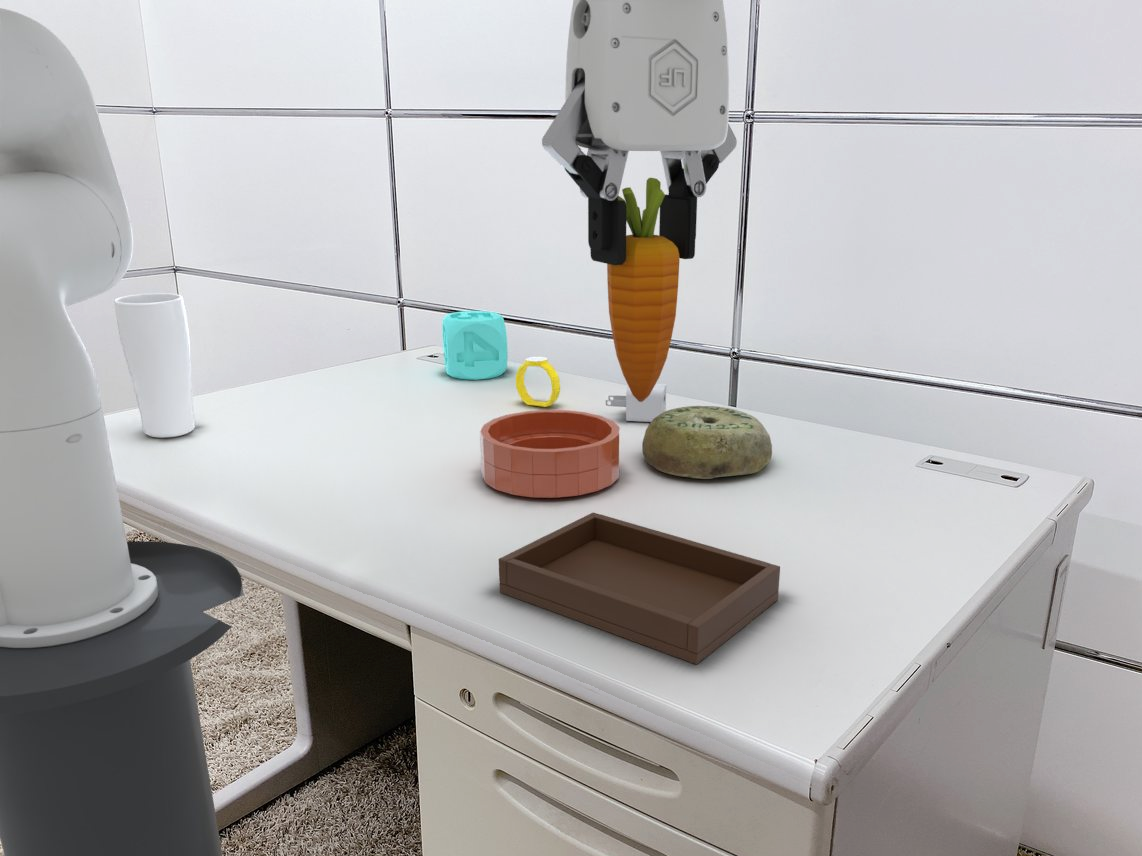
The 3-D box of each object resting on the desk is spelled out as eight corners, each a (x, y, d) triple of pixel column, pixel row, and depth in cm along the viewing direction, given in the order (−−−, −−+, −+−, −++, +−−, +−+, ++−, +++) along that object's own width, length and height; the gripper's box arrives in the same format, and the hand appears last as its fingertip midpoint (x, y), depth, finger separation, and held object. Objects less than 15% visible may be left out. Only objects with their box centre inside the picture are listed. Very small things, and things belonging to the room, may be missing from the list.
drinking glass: (128, 431, 110) (104, 297, 104) (190, 419, 114) (170, 290, 109) (148, 445, 105) (124, 306, 100) (212, 433, 109) (192, 299, 104)
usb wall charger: (662, 424, 115) (663, 391, 114) (604, 421, 116) (604, 388, 114) (665, 414, 119) (666, 382, 117) (609, 411, 120) (609, 380, 118)
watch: (564, 406, 121) (564, 359, 119) (551, 411, 119) (550, 364, 117) (526, 399, 124) (525, 353, 122) (512, 404, 122) (511, 357, 120)
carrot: (629, 415, 65) (631, 181, 60) (592, 397, 69) (592, 176, 64) (689, 405, 68) (697, 180, 63) (651, 388, 72) (655, 175, 67)
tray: (499, 592, 74) (498, 558, 73) (593, 542, 83) (592, 511, 82) (696, 664, 64) (698, 627, 64) (778, 599, 73) (780, 566, 72)
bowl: (525, 512, 89) (524, 460, 87) (459, 470, 99) (456, 423, 97) (646, 483, 96) (646, 435, 95) (572, 447, 107) (572, 403, 105)
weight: (778, 448, 107) (782, 404, 106) (760, 490, 95) (763, 441, 93) (659, 436, 111) (660, 394, 109) (627, 475, 98) (627, 428, 97)
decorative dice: (508, 378, 134) (506, 320, 131) (449, 381, 132) (446, 322, 129) (500, 364, 141) (498, 309, 139) (444, 367, 139) (440, 311, 136)
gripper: (560, -73, 51) (564, 277, 58) (793, -39, 61) (775, 258, 67) (492, -55, 57) (503, 261, 63) (715, -27, 66) (705, 246, 73)
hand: (643, 256), depth 65 cm, fingers closed on carrot, 5 cm apart
